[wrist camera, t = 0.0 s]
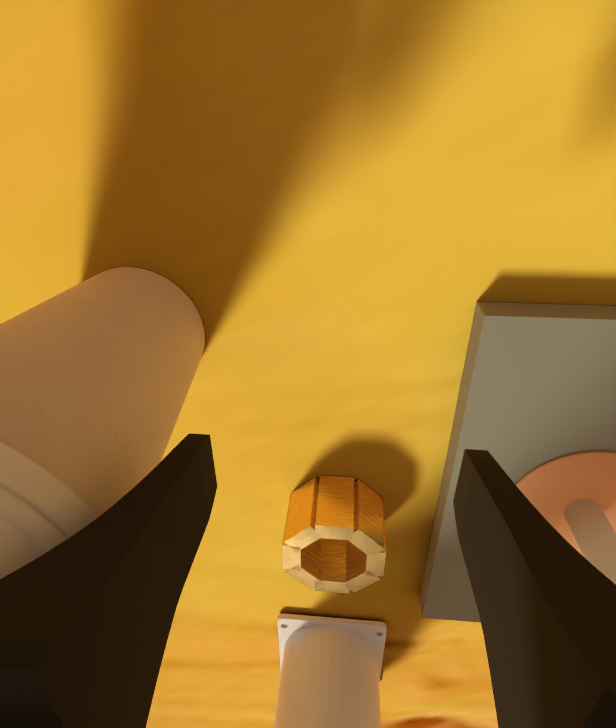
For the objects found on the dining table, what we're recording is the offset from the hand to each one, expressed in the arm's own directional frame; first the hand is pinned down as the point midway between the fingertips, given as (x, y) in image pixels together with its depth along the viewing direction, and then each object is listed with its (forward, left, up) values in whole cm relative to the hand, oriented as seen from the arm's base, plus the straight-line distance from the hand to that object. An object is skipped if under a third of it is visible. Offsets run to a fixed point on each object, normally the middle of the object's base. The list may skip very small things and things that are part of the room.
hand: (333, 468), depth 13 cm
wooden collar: (-13, 0, -10) cm, 16 cm away
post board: (-10, -13, -10) cm, 19 cm away
